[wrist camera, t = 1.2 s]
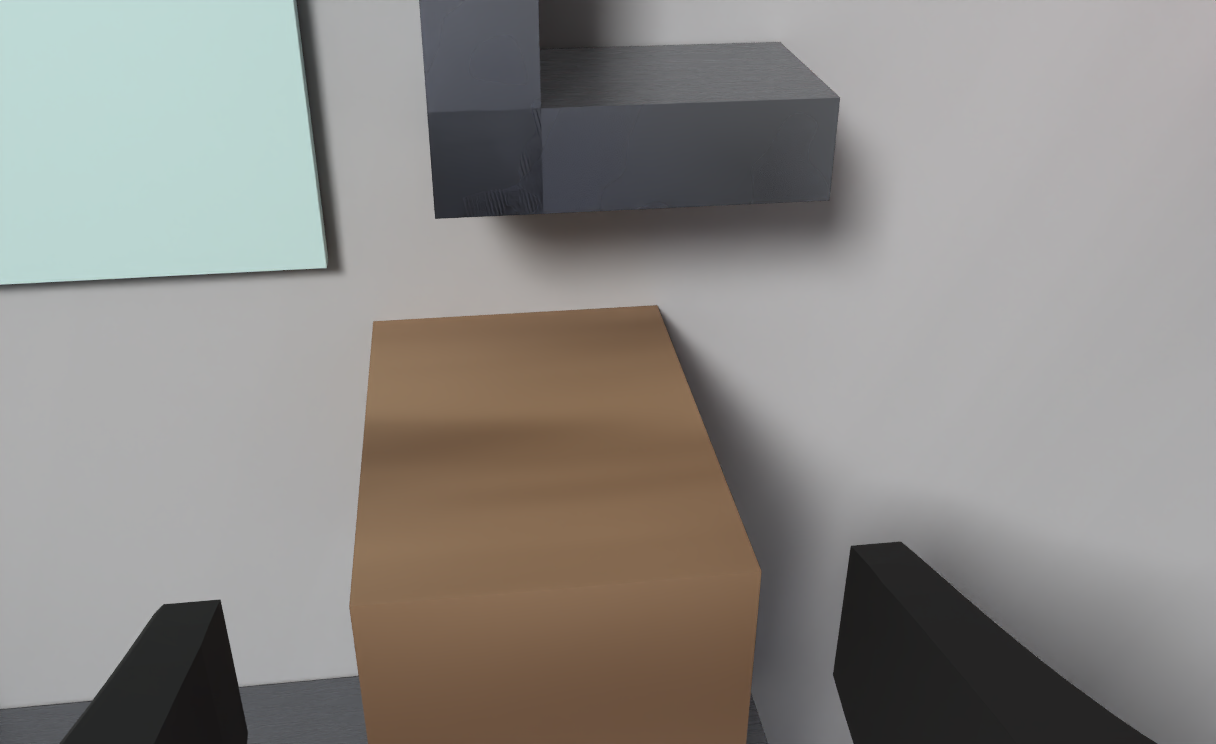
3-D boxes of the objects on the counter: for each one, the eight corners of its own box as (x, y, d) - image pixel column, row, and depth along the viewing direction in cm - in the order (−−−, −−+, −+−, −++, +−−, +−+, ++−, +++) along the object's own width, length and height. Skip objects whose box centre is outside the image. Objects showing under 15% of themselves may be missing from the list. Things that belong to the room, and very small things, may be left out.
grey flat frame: (730, 692, 21) (765, 807, 18) (-160, 780, 19) (-236, 919, 17) (806, -300, 13) (882, -302, 11) (-661, -311, 11) (-916, -315, 9)
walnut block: (650, 529, 19) (737, 843, 13) (397, 549, 18) (386, 883, 13) (657, 304, 17) (761, 571, 11) (373, 320, 16) (349, 606, 11)
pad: (328, 259, 16) (326, 267, 15) (-152, 282, 15) (-162, 293, 15) (264, -250, 13) (261, -249, 12) (-339, -252, 12) (-355, -250, 12)
